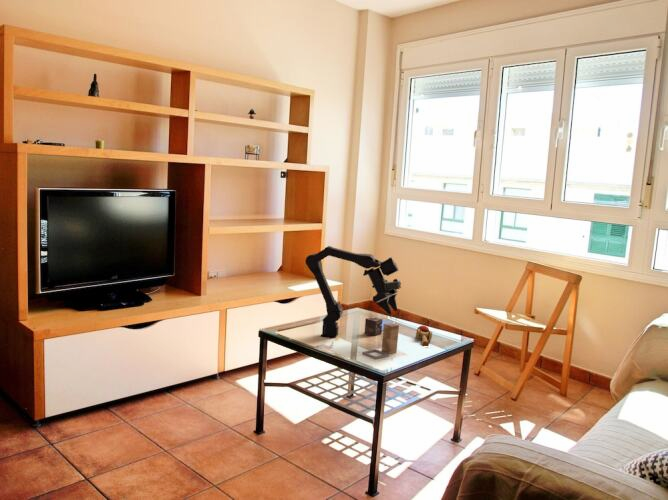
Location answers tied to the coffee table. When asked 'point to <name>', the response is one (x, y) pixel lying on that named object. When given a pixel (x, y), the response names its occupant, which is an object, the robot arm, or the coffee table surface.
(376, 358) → the plate
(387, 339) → the pillar
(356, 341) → the coffee table surface
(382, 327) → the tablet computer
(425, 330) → the kendama
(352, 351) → the coffee table surface
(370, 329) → the box
